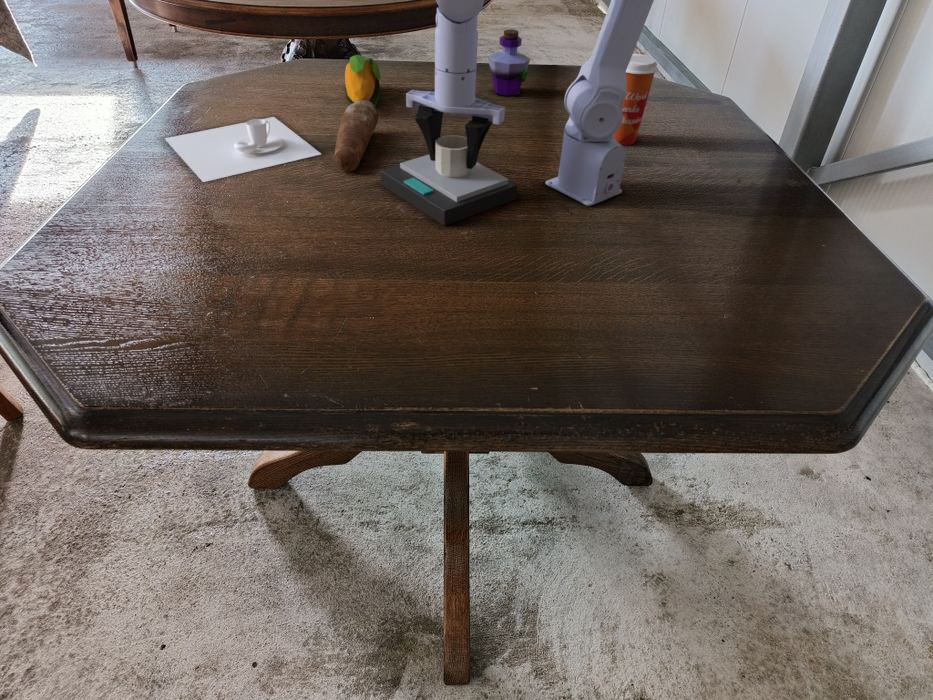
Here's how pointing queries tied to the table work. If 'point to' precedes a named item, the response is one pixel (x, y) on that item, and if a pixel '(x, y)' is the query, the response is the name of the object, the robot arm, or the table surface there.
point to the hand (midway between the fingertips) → (453, 162)
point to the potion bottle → (508, 65)
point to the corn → (362, 80)
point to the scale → (448, 189)
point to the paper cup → (635, 96)
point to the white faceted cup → (451, 156)
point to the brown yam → (354, 134)
